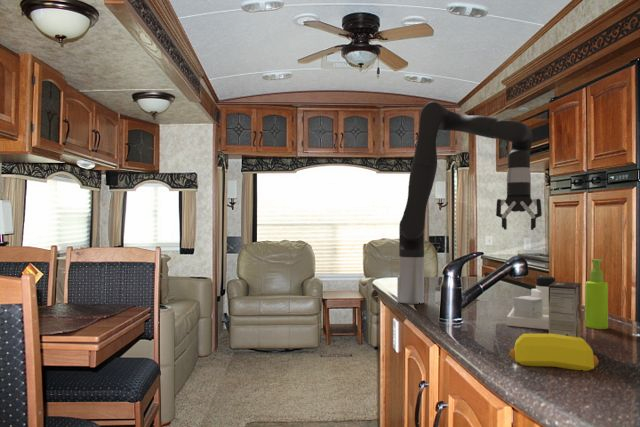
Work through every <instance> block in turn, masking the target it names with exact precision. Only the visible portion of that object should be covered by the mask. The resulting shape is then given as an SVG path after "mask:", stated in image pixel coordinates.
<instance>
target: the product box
mask: <svg viewBox="0 0 640 427" xmlns="http://www.w3.org/2000/svg"><path fill="white" fill-rule="evenodd" d="M529 296H530V295H523V296H515V297H514V298H513V300H514V301H513V303H514V304H513V307H514V317H522V318H533V319H543V298H538V297H529Z"/></svg>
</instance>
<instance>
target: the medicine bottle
mask: <svg viewBox="0 0 640 427" xmlns="http://www.w3.org/2000/svg"><path fill="white" fill-rule="evenodd" d="M553 282H556V278H555V277H553V276H551V275H550V276H549V275H539V276H536V278H535V288H531V290H530V291H531V294H530V296H540V298H543V308H549V285H550V284H552V283H553Z"/></svg>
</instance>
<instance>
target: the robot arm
mask: <svg viewBox="0 0 640 427" xmlns="http://www.w3.org/2000/svg"><path fill="white" fill-rule="evenodd" d="M418 122H419V123H418V124H419V125H418V134H417V139H416V146H415V149H414V154H413V159H412V164H411V168H410V172H409V180H408V186H407V187H408V190H407V192H408V193H407V199H406V205H405V208H404V211H403V214H402V217H401V220H400V221H399V230H398V232H399V237H398V240H399V242H398V244H399V247H398V251H399V255H398V256H399V258H398V259H399V263H398V264H399V266H398V267H399V268H398V269H399V270H398V271H399V272H398V273H399V275H398V276H397V283H396V284H397V295H396V296H397V300H396V301H397V302H396V303H401V304H410V305H417V304H418V305H420V304H424V303H425V243H424V242H425V239H424V238H425V234H424V233H425V227H426V225H425V222H426V214H427V213H426V212H427V206H428V201H429V198H430V195H431V193H432V189H433V186H434V183H435V182H434V181H435V178H436V174H437V168H438V153H437V137H438V133H439V131H455V132H461V133H462V132H463V133H466V134H471V135H475V136H478V137H479V136H480V137H484V138H489V139H496V140H497V139H499V140H503V141H507V142H510V143H511V145H510V152H509V153H508V156H507V172H506V173H507V174H506V198H505V199H500V198H499V199H497V200H496V209H495V216H496V217H499V218H501V228H502V229H504V230H505V231H506V230H507V229H508V228H507V227H508V225H507V224H508V219H507V217H508V215H509V214H510V213H511V212H513V213H515V212H521V213H523V212H526V213H527V214H528V216H530V231H534V229H536V227H537V218H540V217H542V216H543V213H542V201H541V199H540V198H536V199H532V197H531V196H532V194H531V193H532V191H531V190H532V189H531V188H532V187H531V186H532V184H531V179H532V178H531V150H532V145H533V131H532V129H531V127H530V126H529V125H527V124H525V123H524V122H522V121H517V120H510V119H500V118H497V117H491V116H486V115H477V114H476V115H468V114H461V113H457V112H455V111H452V110H449V109H448V108H447V107H445V106H444V105H443V104H441V103H439V102H438V101H430V102H427V103H426V104H425V105H424V106H423V107H422V109H421V112H420V115H419V121H418ZM532 203H533V204H534V205H535V206H536V214H535V213H534V212H533V211H532V209H531V208H530V206H531V205H532ZM505 204H506V206H508V207H507V208H506V210H505V211H504V212H503V213H502V206H504V205H505ZM419 303H420V304H419Z"/></svg>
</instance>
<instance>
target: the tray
mask: <svg viewBox="0 0 640 427" xmlns="http://www.w3.org/2000/svg"><path fill="white" fill-rule="evenodd" d="M506 326H510V327H520V328H528V329H529V328H530V329H531V328H532V329H540V330H541V329H542V330H549V308H543V319H533V318H522V317H514V306H512V309H511V310H510V312H509V313H508V314H507V316H506Z"/></svg>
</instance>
